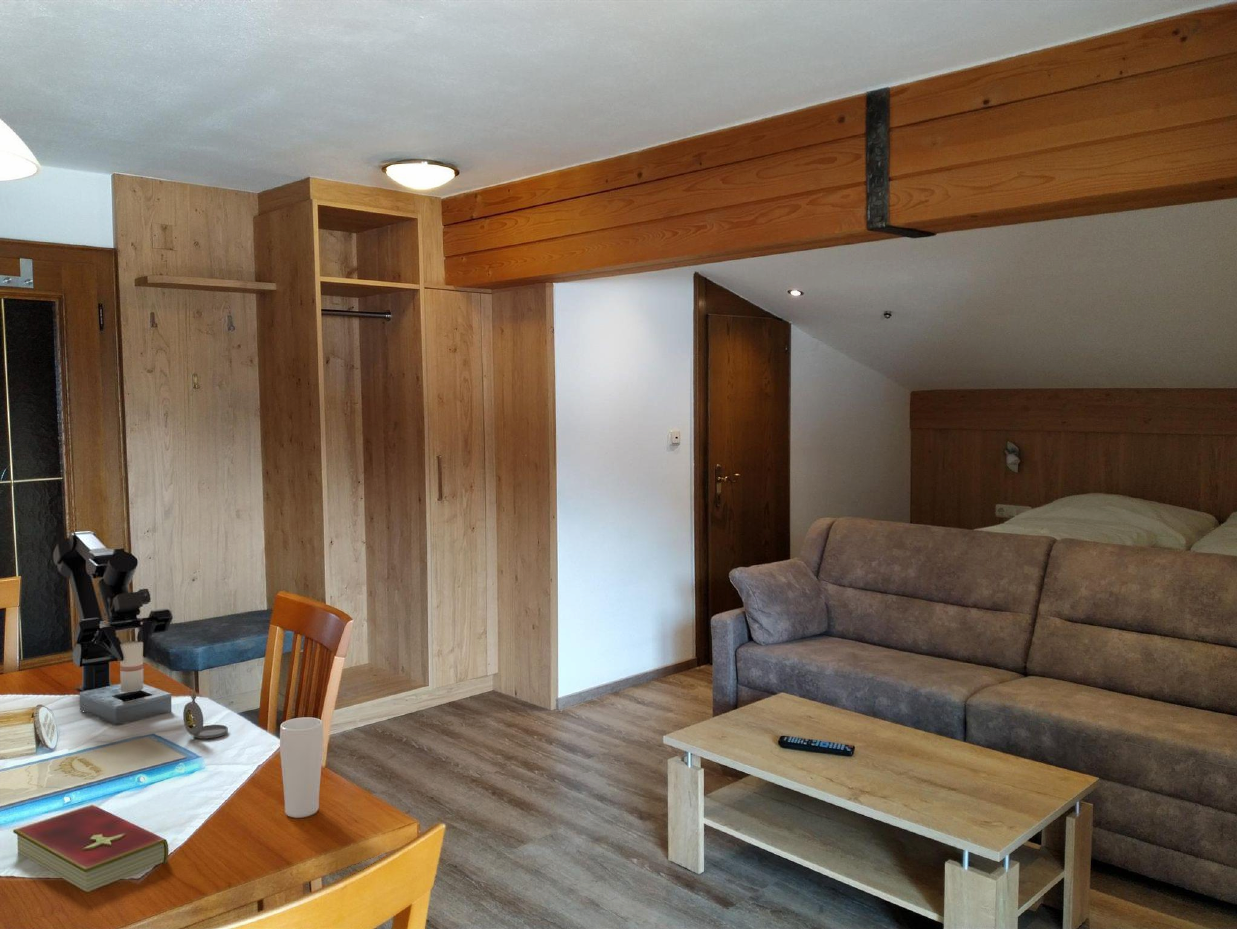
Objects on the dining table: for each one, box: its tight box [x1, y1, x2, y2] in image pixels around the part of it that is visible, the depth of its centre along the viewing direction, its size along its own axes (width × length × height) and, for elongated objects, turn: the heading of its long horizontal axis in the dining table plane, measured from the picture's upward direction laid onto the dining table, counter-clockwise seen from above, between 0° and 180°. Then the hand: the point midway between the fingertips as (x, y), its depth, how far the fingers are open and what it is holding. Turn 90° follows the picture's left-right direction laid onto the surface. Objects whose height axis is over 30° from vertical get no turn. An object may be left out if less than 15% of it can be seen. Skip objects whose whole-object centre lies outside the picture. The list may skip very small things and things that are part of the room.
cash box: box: [79, 683, 172, 726], centre depth 211 cm, size 16×12×4 cm
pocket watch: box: [182, 690, 229, 739], centre depth 196 cm, size 8×8×10 cm
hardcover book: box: [12, 804, 170, 893], centre depth 143 cm, size 12×21×4 cm, turn 55°
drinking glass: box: [279, 716, 324, 819], centre depth 159 cm, size 7×7×15 cm
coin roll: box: [119, 640, 144, 692], centre depth 209 cm, size 4×4×10 cm
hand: (133, 658), depth 208 cm, fingers closed on coin roll, 4 cm apart
